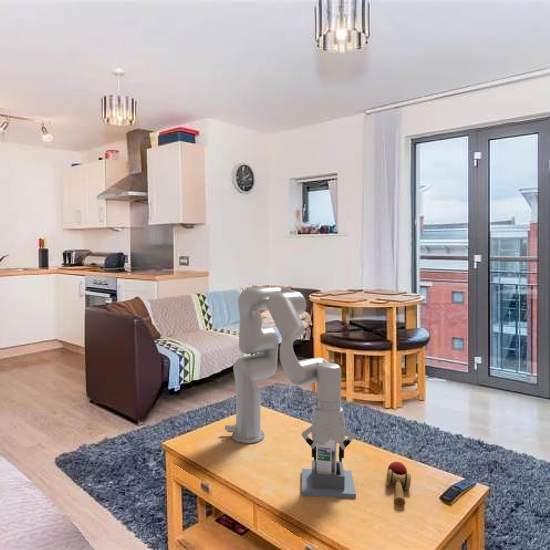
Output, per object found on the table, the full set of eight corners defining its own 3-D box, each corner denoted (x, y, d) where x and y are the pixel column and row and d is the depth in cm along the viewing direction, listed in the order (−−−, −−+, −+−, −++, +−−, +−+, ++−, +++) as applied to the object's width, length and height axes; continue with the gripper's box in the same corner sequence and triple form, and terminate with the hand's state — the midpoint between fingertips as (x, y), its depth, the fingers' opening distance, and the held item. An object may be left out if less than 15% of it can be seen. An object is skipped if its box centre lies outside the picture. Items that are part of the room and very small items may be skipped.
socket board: (301, 495, 134) (301, 478, 133) (301, 472, 148) (302, 456, 147) (355, 497, 133) (356, 480, 132) (351, 474, 147) (351, 458, 146)
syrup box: (315, 484, 138) (316, 438, 137) (318, 474, 144) (319, 430, 143) (334, 486, 137) (334, 440, 136) (336, 476, 142) (337, 432, 141)
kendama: (416, 513, 128) (410, 473, 145) (413, 493, 127) (407, 456, 144) (388, 513, 130) (386, 475, 147) (385, 494, 129) (383, 457, 146)
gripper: (300, 407, 135) (299, 464, 137) (358, 409, 134) (357, 466, 135) (300, 398, 143) (299, 453, 144) (355, 400, 142) (354, 455, 143)
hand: (327, 459), depth 140 cm, fingers open, 7 cm apart
